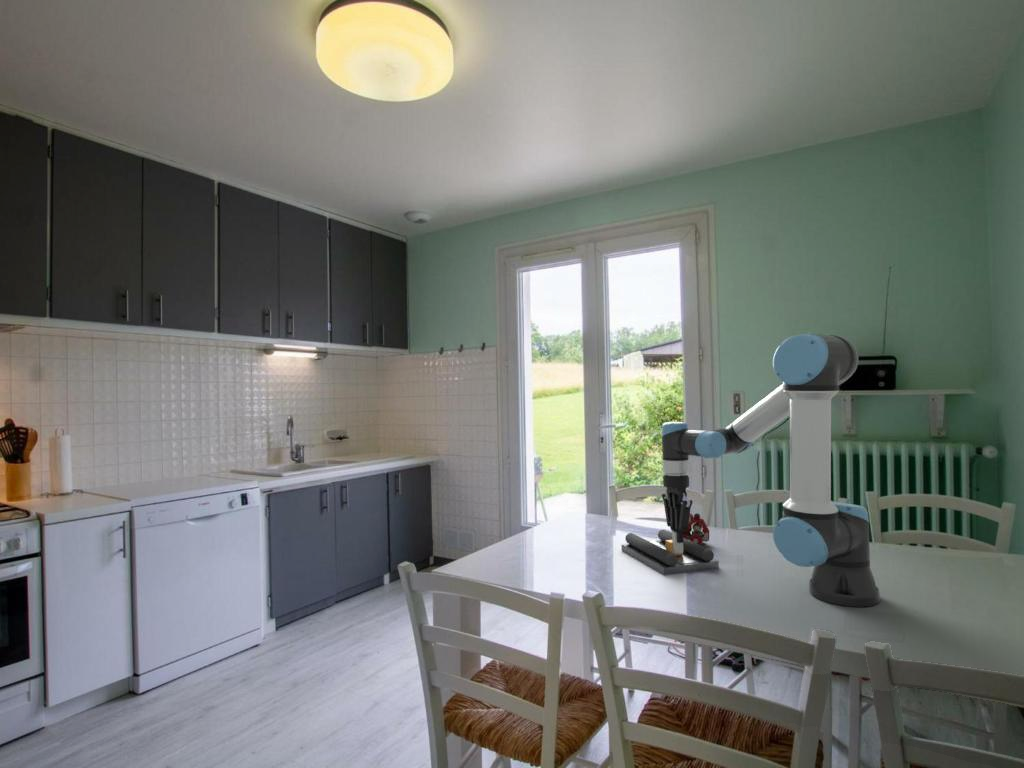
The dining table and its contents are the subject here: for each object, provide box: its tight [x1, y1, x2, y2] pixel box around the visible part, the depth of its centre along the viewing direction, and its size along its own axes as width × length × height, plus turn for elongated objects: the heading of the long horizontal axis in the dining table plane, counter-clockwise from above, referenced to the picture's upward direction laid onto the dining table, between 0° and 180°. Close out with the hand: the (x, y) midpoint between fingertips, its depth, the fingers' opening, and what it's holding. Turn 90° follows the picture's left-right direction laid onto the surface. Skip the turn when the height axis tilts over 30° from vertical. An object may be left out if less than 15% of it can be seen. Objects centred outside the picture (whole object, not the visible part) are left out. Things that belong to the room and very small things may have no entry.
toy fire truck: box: [683, 512, 710, 546], centre depth 189 cm, size 7×12×10 cm, turn 64°
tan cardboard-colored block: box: [665, 540, 683, 556], centre depth 169 cm, size 3×4×4 cm
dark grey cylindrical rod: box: [657, 529, 715, 561], centre depth 175 cm, size 28×4×4 cm, turn 16°
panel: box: [621, 539, 720, 576], centre depth 173 cm, size 26×18×2 cm
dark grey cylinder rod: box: [625, 532, 678, 566], centre depth 171 cm, size 28×4×4 cm, turn 16°
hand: (678, 552), depth 167 cm, fingers closed
